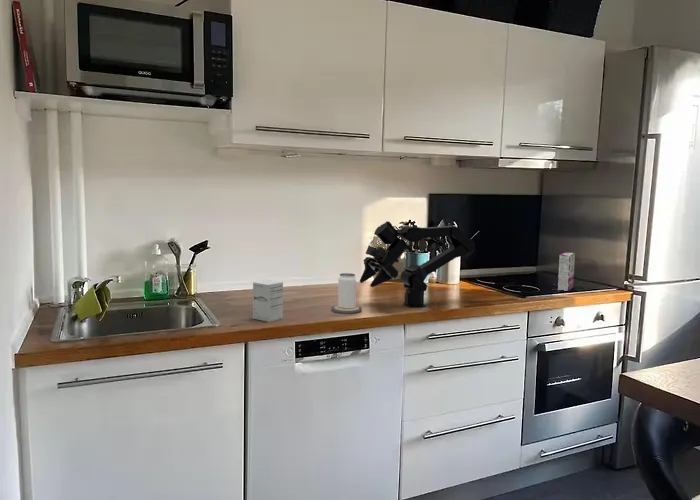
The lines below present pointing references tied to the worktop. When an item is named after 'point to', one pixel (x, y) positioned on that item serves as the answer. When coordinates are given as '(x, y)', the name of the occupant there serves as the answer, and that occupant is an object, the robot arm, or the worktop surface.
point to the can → (347, 291)
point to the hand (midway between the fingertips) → (365, 284)
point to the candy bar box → (566, 271)
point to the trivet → (346, 310)
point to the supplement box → (267, 300)
